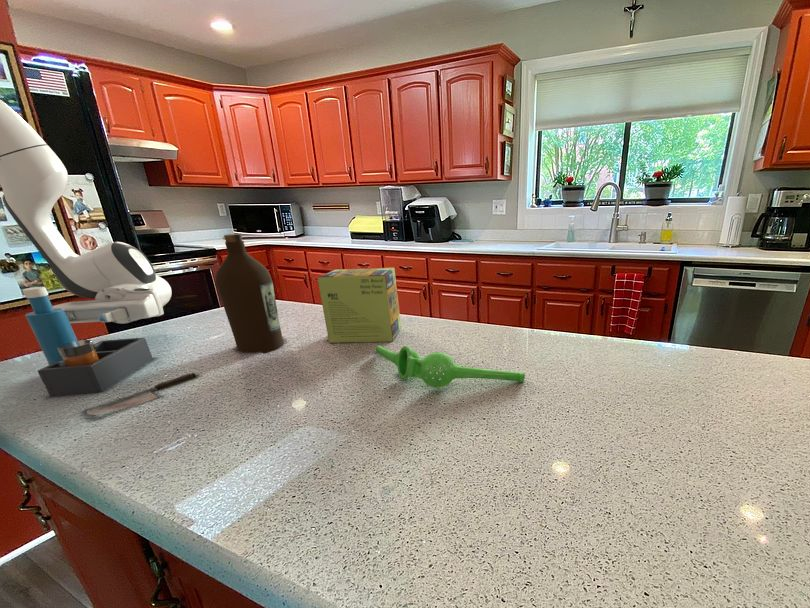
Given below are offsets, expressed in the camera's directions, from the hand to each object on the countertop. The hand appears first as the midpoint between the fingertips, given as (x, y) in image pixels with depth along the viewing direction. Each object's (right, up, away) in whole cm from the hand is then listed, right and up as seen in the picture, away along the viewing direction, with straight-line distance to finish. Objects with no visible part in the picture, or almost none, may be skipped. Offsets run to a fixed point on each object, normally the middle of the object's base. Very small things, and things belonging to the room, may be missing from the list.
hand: (77, 320), depth 83 cm
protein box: (+56, -2, +15) cm, 58 cm away
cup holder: (+11, -12, -5) cm, 17 cm away
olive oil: (+34, -6, +9) cm, 35 cm away
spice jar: (+12, -13, -9) cm, 20 cm away
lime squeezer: (+75, -12, -9) cm, 76 cm away
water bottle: (+1, -11, -2) cm, 11 cm away
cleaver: (+27, -15, -14) cm, 33 cm away
